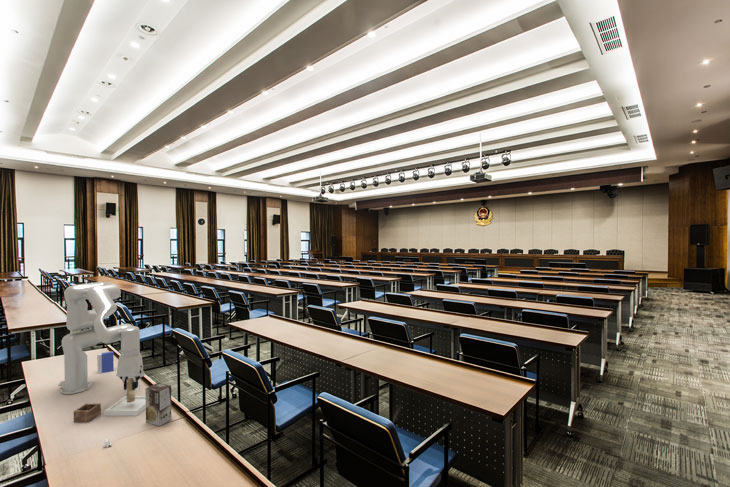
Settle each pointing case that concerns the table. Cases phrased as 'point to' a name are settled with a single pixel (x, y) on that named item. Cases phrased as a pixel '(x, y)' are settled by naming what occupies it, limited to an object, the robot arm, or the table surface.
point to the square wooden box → (87, 412)
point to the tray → (127, 407)
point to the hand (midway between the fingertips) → (130, 388)
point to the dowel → (130, 391)
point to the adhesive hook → (107, 443)
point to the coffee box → (158, 404)
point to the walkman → (105, 362)
